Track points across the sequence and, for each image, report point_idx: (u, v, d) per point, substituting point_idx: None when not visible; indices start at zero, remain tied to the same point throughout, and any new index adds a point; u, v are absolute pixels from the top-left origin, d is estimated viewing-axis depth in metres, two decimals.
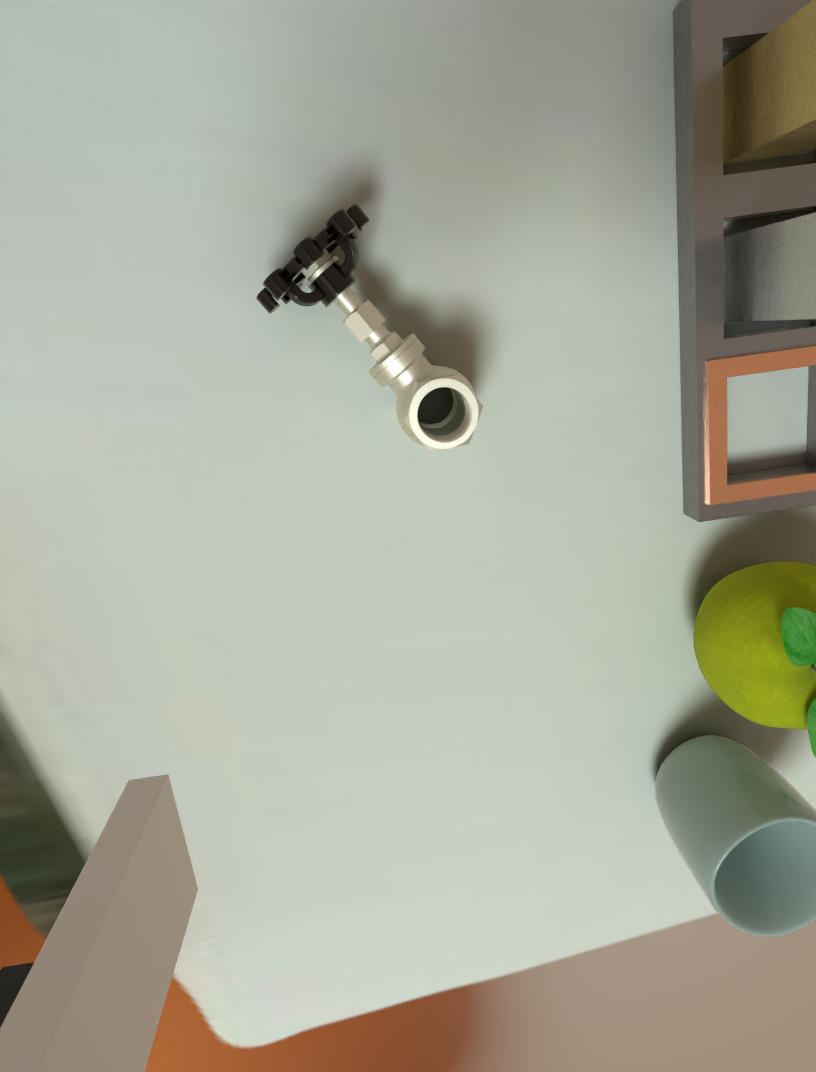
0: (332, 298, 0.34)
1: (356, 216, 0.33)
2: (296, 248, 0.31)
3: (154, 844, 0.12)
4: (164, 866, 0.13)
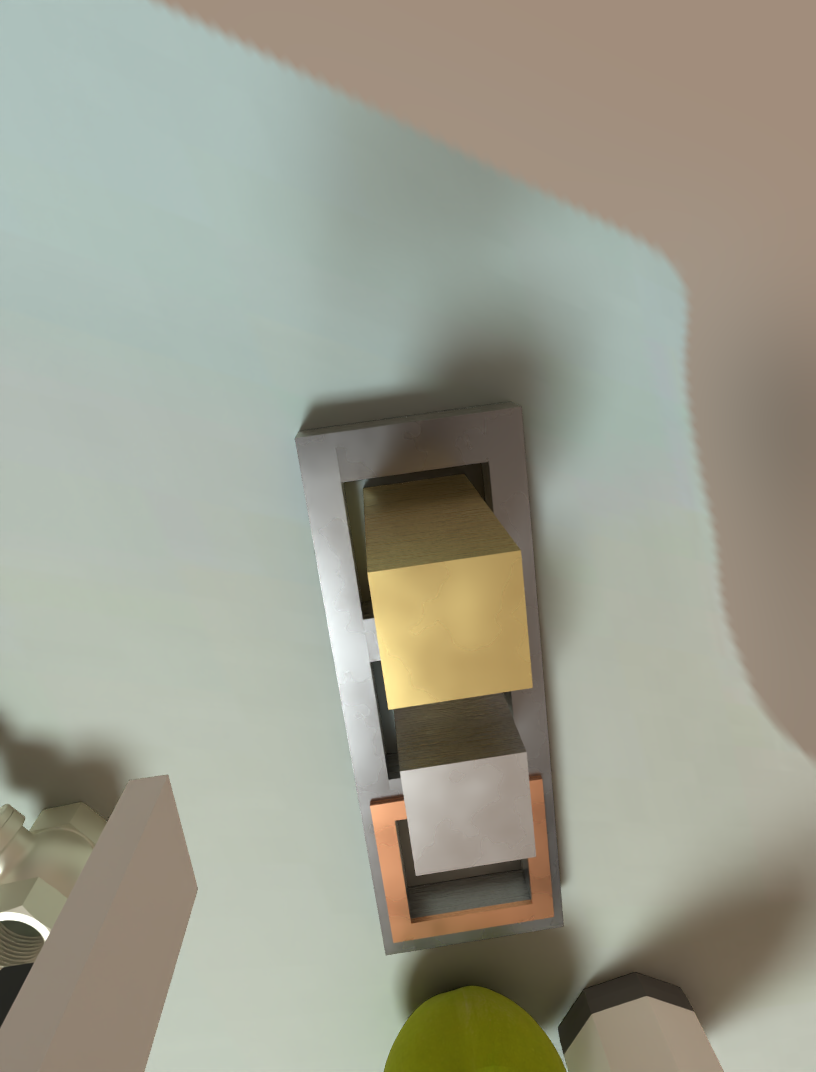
0: None
1: None
2: None
3: (154, 844, 0.12)
4: (164, 866, 0.13)
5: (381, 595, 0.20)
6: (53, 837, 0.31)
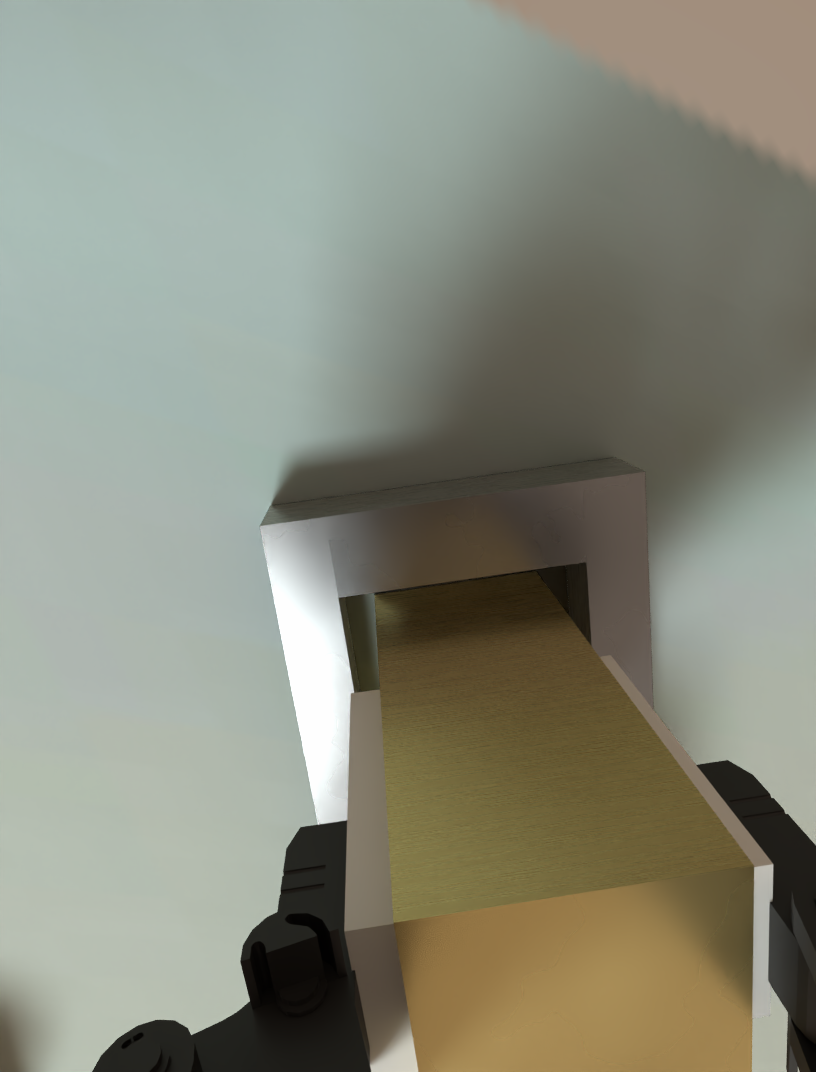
0: None
1: None
2: None
3: None
4: None
5: (425, 966, 0.09)
6: None
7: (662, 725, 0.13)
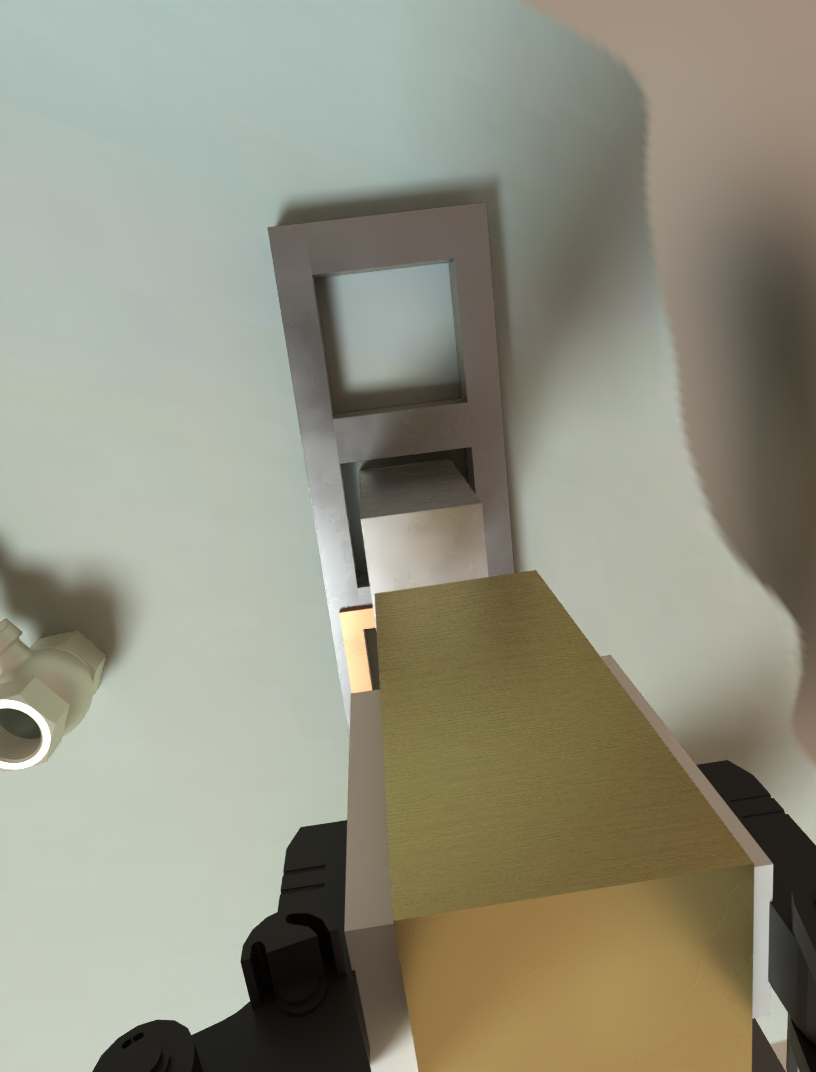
0: None
1: None
2: None
3: None
4: None
5: (425, 965, 0.09)
6: (49, 651, 0.33)
7: (662, 725, 0.13)
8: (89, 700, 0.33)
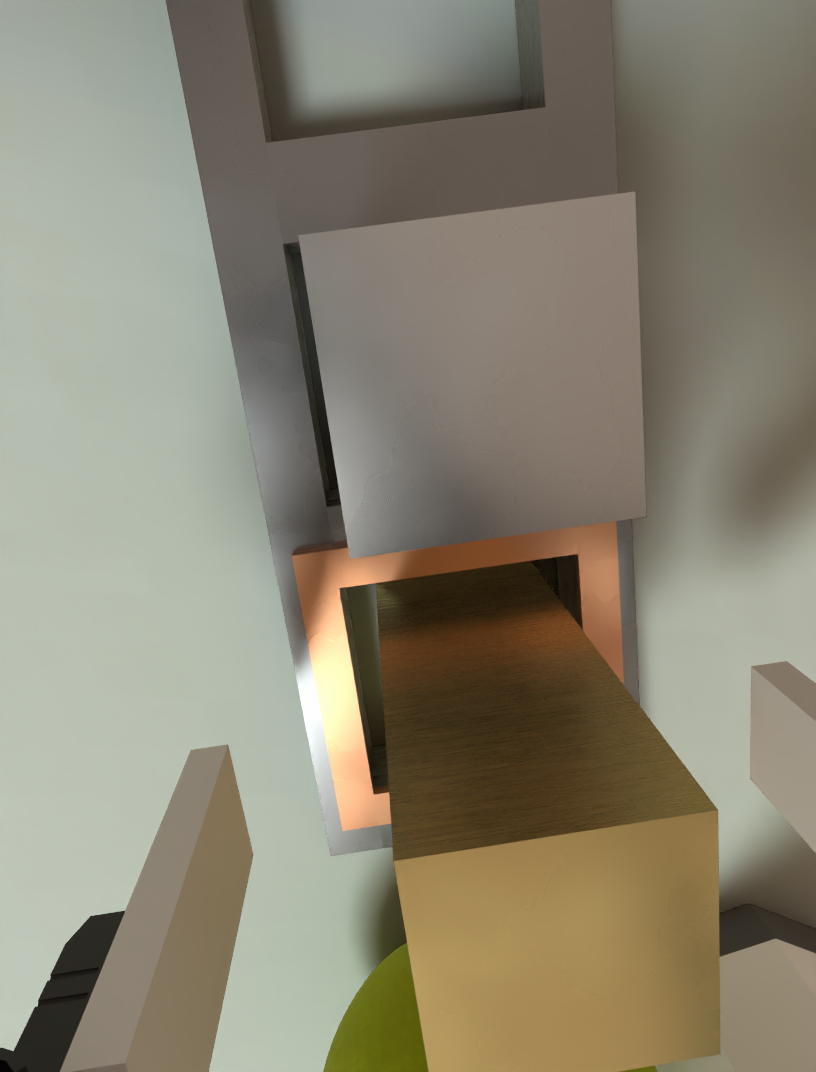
0: None
1: None
2: None
3: (220, 807, 0.13)
4: (228, 829, 0.13)
5: (422, 902, 0.10)
6: None
7: None
8: None
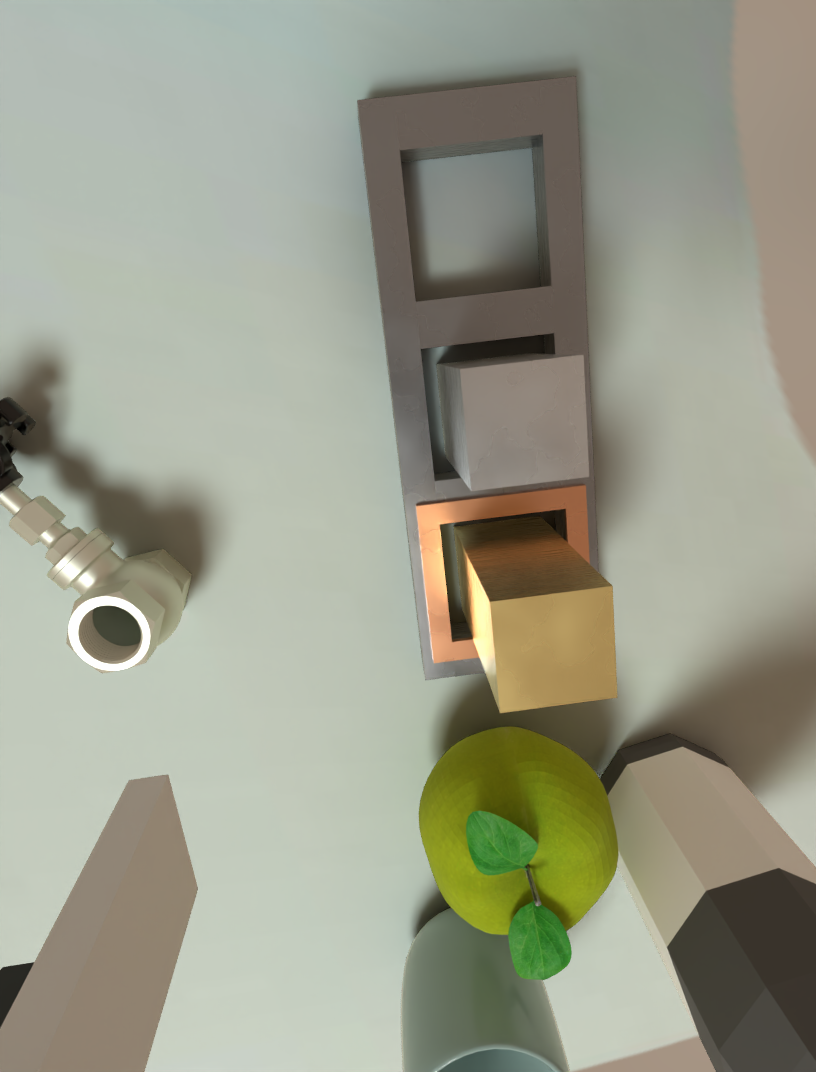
0: None
1: (3, 413, 0.29)
2: None
3: (154, 844, 0.12)
4: (164, 866, 0.13)
5: (499, 620, 0.25)
6: (141, 561, 0.32)
7: None
8: (181, 610, 0.33)
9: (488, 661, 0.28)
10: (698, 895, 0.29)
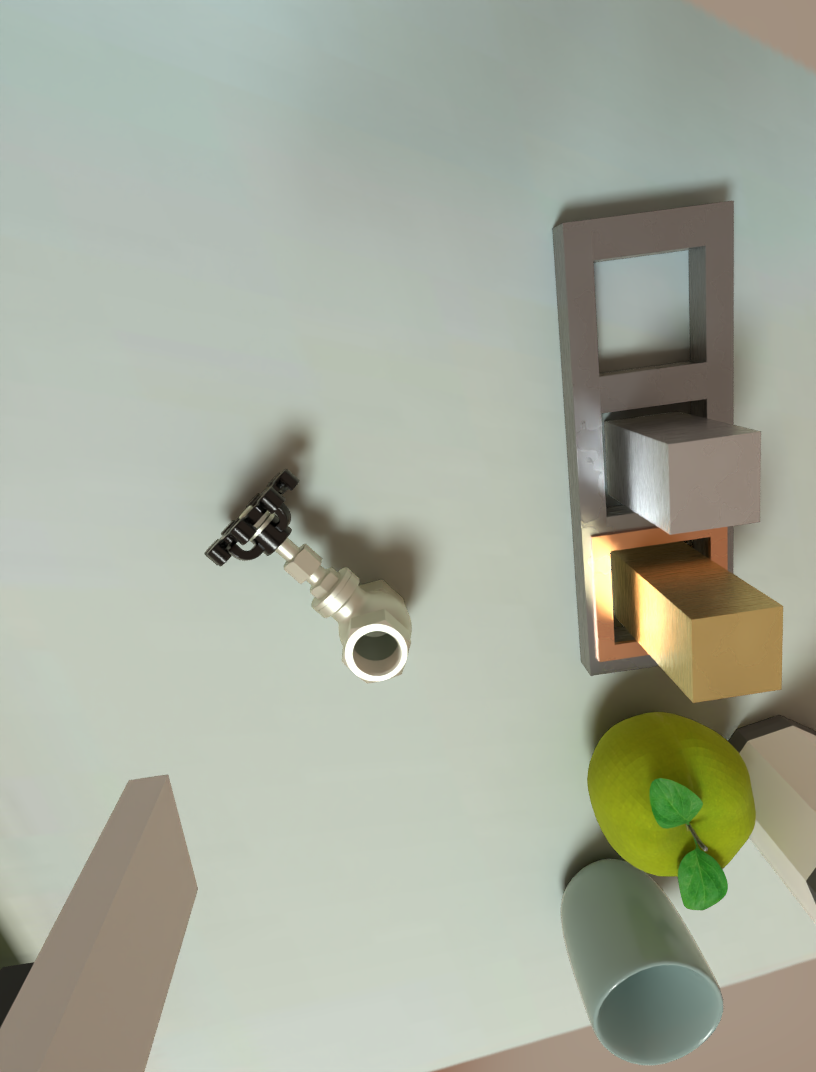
0: (271, 552, 0.38)
1: (286, 482, 0.37)
2: (231, 531, 0.35)
3: (155, 844, 0.12)
4: (164, 866, 0.13)
5: (697, 633, 0.33)
6: (378, 592, 0.41)
7: None
8: (411, 630, 0.41)
9: (675, 663, 0.36)
10: None
